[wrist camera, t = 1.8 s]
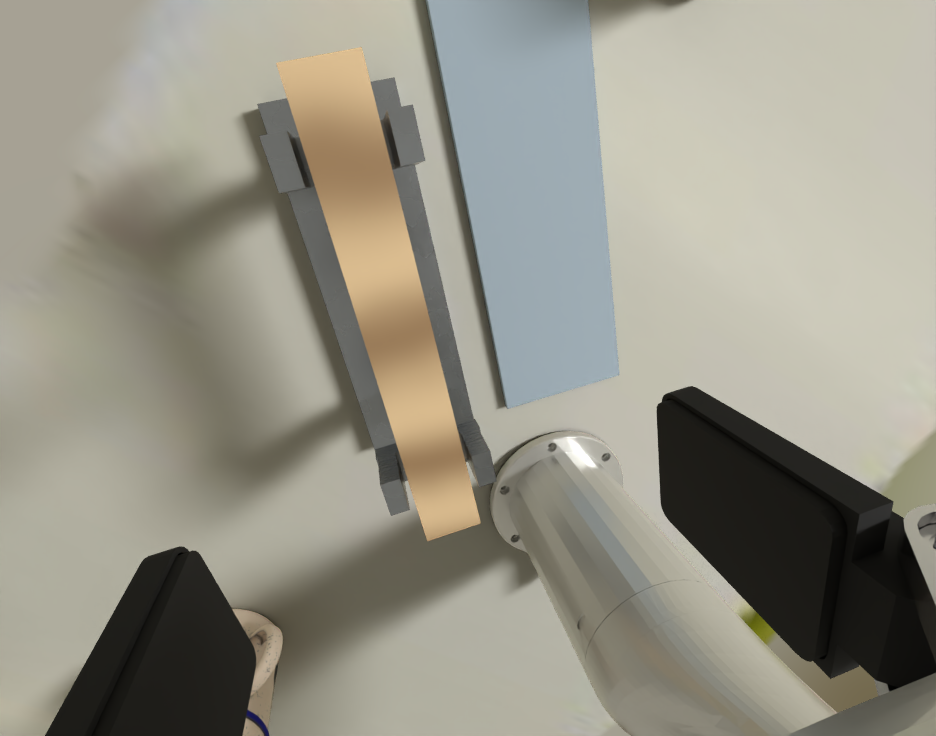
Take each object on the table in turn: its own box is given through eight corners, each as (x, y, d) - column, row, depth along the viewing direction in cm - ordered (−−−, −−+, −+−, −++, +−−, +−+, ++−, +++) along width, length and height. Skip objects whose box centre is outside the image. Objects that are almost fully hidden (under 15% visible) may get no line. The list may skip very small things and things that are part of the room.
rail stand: (470, 416, 38) (524, 518, 26) (375, 445, 37) (386, 565, 25) (392, 81, 29) (421, 5, 17) (260, 107, 27) (192, 45, 16)
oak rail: (468, 490, 28) (480, 523, 25) (419, 506, 27) (427, 541, 25) (360, 67, 19) (361, 47, 16) (287, 81, 19) (276, 63, 16)
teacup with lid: (238, 695, 43) (201, 861, 32) (145, 658, 39) (68, 832, 28) (328, 610, 42) (320, 753, 31) (241, 563, 38) (198, 708, 27)
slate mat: (615, 372, 40) (619, 374, 39) (505, 405, 38) (507, 408, 38) (580, -33, 29) (585, -37, 28) (424, -6, 27) (425, -10, 27)
